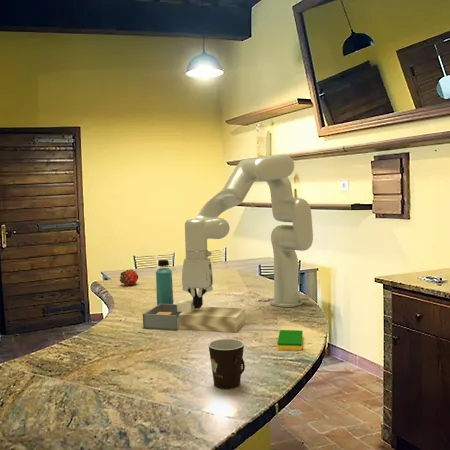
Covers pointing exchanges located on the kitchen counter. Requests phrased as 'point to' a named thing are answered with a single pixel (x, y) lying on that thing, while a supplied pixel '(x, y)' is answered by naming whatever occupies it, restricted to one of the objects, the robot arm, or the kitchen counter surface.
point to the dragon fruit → (129, 277)
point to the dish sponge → (290, 340)
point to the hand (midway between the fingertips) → (197, 307)
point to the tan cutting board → (213, 319)
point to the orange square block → (165, 313)
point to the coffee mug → (227, 362)
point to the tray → (162, 318)
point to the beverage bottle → (164, 284)
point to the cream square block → (185, 306)
